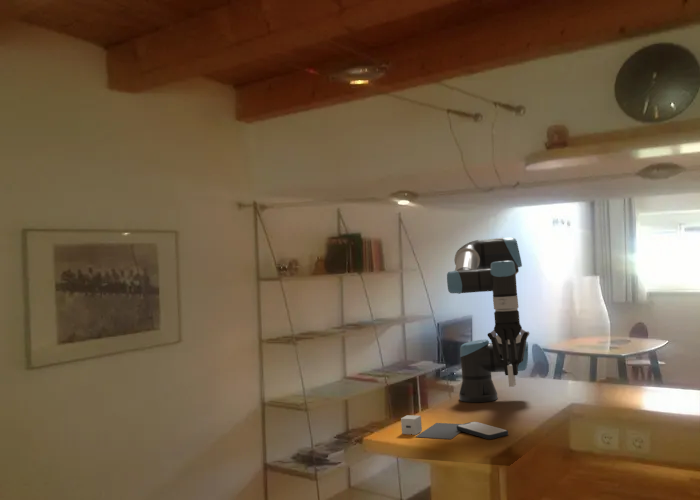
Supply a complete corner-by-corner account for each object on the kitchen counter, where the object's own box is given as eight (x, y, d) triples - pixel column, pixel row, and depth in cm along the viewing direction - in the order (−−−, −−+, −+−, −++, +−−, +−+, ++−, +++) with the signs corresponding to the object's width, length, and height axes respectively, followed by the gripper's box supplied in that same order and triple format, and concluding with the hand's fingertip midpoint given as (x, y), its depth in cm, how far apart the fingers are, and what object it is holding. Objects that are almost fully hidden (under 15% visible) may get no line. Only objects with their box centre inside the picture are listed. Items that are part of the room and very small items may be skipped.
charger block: (408, 430, 213) (406, 415, 213) (421, 431, 211) (420, 415, 211) (401, 434, 209) (400, 418, 209) (416, 434, 206) (414, 419, 206)
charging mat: (436, 423, 220) (436, 422, 220) (470, 424, 214) (469, 424, 214) (415, 437, 203) (415, 436, 203) (451, 439, 198) (451, 438, 198)
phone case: (510, 435, 198) (475, 425, 212) (510, 430, 198) (475, 420, 212) (489, 440, 193) (454, 430, 207) (488, 435, 194) (454, 425, 207)
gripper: (482, 311, 199) (488, 387, 198) (524, 310, 193) (530, 388, 192) (489, 310, 206) (495, 383, 204) (529, 308, 199) (536, 384, 198)
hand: (512, 385), depth 198 cm, fingers closed
